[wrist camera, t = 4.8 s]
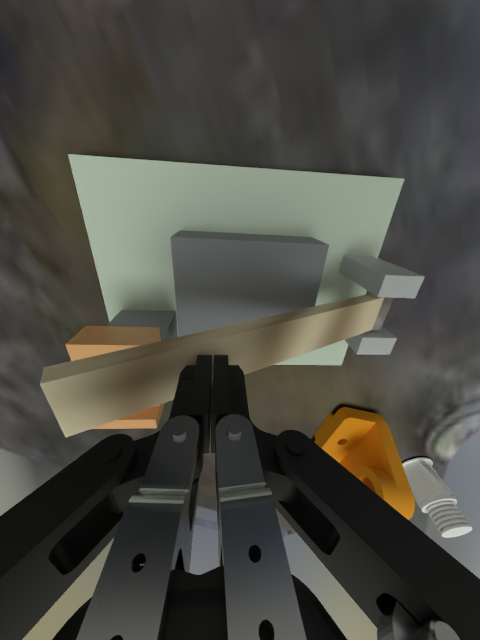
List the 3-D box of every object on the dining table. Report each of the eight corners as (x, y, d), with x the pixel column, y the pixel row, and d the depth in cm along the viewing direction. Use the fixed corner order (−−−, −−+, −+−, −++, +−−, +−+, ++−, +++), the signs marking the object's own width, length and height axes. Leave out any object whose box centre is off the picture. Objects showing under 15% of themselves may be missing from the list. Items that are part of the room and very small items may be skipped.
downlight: (402, 455, 42) (446, 524, 34) (438, 453, 43) (491, 520, 34) (388, 476, 47) (425, 542, 38) (421, 474, 47) (465, 539, 38)
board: (389, 180, 21) (481, 170, 13) (334, 355, 30) (370, 406, 23) (82, 158, 19) (-12, 131, 11) (126, 353, 28) (90, 408, 21)
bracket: (338, 401, 35) (388, 490, 24) (377, 410, 36) (440, 497, 26) (307, 443, 39) (336, 534, 29) (342, 450, 41) (383, 537, 30)
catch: (159, 327, 18) (144, 356, 14) (167, 392, 21) (157, 427, 18) (85, 325, 17) (53, 355, 14) (106, 392, 21) (83, 429, 17)
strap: (379, 289, 19) (398, 296, 18) (368, 320, 21) (384, 328, 20) (45, 363, 9) (37, 389, 8) (68, 414, 10) (65, 443, 9)
